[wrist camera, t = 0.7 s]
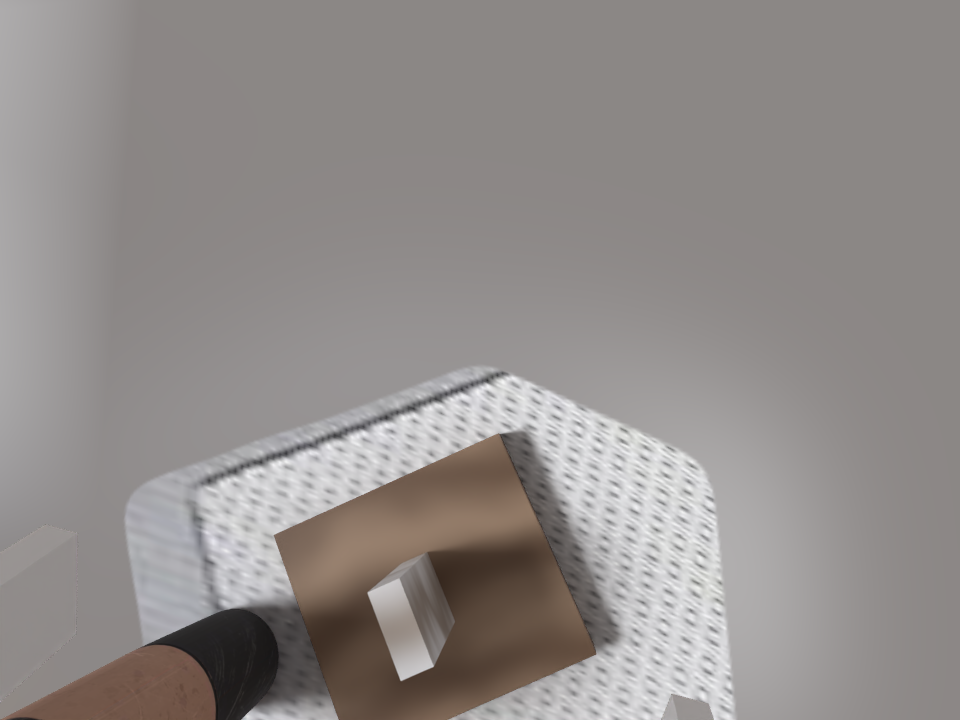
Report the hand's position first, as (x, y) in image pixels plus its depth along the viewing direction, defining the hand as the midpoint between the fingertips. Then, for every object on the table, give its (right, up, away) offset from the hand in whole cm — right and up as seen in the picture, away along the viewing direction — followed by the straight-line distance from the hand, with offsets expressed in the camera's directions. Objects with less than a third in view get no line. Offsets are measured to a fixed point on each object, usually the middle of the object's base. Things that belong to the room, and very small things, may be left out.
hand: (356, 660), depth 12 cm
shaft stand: (-1, -10, +29) cm, 30 cm away
